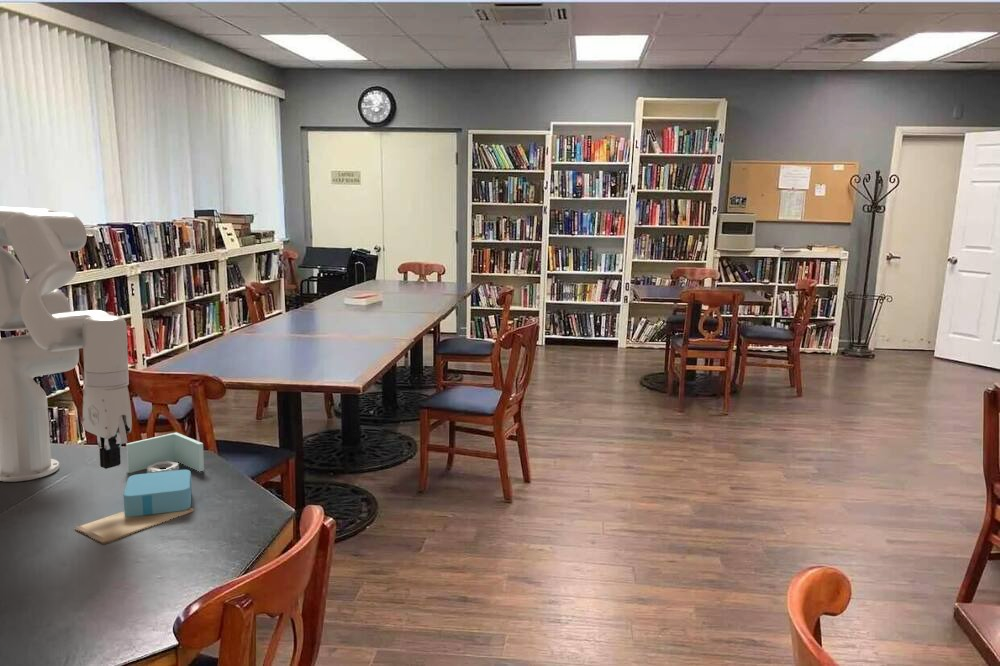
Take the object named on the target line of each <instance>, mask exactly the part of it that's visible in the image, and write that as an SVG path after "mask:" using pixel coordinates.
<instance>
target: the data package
mask: <svg viewBox="0 0 1000 666" xmlns="http://www.w3.org/2000/svg"><path fill="white" fill-rule="evenodd" d="M122 495H123V509H124V510H123V511H124V514H125V516H127V517H137V516H145V515H153V514H161V513H169V512H177V511H184V510H187V509H189V508H192V507H191V505H192V473H191V470H189V469H179V470H175V471H165V472H156V473H147V472H145V473H139V474H133V475H130V476H129V477H128V478H127V481H126V484H125V488H124V492H123V494H122Z"/></svg>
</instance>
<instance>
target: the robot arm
mask: <svg viewBox="0 0 1000 666" xmlns="http://www.w3.org/2000/svg"><path fill="white" fill-rule="evenodd" d="M87 235H88V234H87V229H86V227H85V225H84V223H83V222H82V220H81V219H80V218H79V217H78V216H76V215H75V214H73V213H72V212H66V211H60V210H54V209H51V208H50V209H49V208H38V207H36V208H35V207H16V206H0V331H3V332H5V331H6V332H7V331H21V330H27V331H28V334H24V335H14V336H8V337H3V338H0V482H12V483H13V482H25V481H32V480H36V479H39V478H43V477H46V476H49V475H51V474H53V473H55V472H57V471H58V470H59V469H60V462H59V461H58V460H57V459H55V458H52V453H51V437H50V422H49V409H48V408H49V407H48V397H47V394H46V392H45V390H44V389H43V388H42V387H41V386H40V385H39V384H38V383H37V382H36V381H35V380H34V378H35V377H40V376H41V377H42V376H45V375H46V376H47V375H52V374H58V373H64V372H68V371H71V370H73V369H75V368H76V366H77V365H78V363H79V361H80V349H82V354H83V355H82V356H83V374H84V375H83V376H84V388H83V393H82V394H83V395H82V429H83V430H84V431H86V432H87V433H90V434H92V435H94V436H95V437H96V440H97V445H98V447H99V466H100V467H101V468H104V469H105V470H107V469H110V468H114V467H119V466H120V465H121V447H122V444H126V443H127V442H128V437H127V435H130V433H131V432H132V428H133V427H132V426H133V423H132V418H133V417H132V407H131V406H132V405H131V400H130V392H129V388H128V386H129V384H130V382H129V354H128V330H127V329H128V326H127V325H128V324H127V322H126V320H125V318H123V317H122V316H119V315H111V314H110V313H109V312H107V311H105V310H102V309H90V310H88V309H87V310H73V311H72V309H71V306H70V303H69V300H68V297H67V296H66V295H65V293H64V292H63V291H62V290H61V289H59V288H62V287H63V286H65V285H67V284H68V283H69V282H71V281H72V280H73V279H74V277H75V276H76V274H77V267H76V264H75V263H74V261H73V259H72V257H71V256H70V253H69V252H76V251H80V250H82V249H83V248H84V247H85V245H86V244H87V238H88V236H87ZM7 246H8V247H9V246H10V247H12V249H13V251H14V253H15V255H16V257H17V258H16V257H15V256H14V254H12V253H11V252H9V251H8V250H6V249H5V248H3V247H7ZM25 274H26V275H27V277H28V279H29V280H28V281H27V280H26V275H25Z"/></svg>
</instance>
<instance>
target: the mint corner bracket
mask: <svg viewBox="0 0 1000 666" xmlns="http://www.w3.org/2000/svg"><path fill="white" fill-rule="evenodd" d="M125 452H126V453H125V454H126V455H125V456H126V473H128V474H131V473H135V472H138V471H142V470H146V472H145V473H156V472H165V471H175V470H180V465H182V464H184V465H183V466H185V465H186V466H185V467H187V466H188V468H189V467H190V468H189V469H191V468H193V469H195V470H197V471H196V472H198V471H199V472H198V473H201V472H200V471H203V470H204V467H205V465H204V463H205V461H204V443H203V442H201V441H198V440H196V439H194V438H191V437H188V436H187V435H184V434H182V433H180V432H178V431H175V432H172V433H167V434H163V435H159V436H154V437H150V438H146V439H141V440H136V441H132V442H128V443H127V442H126V443H125ZM178 462H179V463H178ZM180 463H181V464H180ZM160 468H166V469H160ZM193 469H192V470H193ZM195 470H194V471H195ZM204 471H205V470H204ZM204 471H203V472H204Z"/></svg>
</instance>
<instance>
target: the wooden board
mask: <svg viewBox="0 0 1000 666" xmlns="http://www.w3.org/2000/svg"><path fill="white" fill-rule="evenodd" d="M192 512H194V508H192V507H190V508H189V509H187V510H184V511H177V512H169V513H161V514H153V515H145V516H137V517H127V516H125V514H124V510H123V511H119V512H117V513H114V514H111V515H108V516H105V517H102V518H100V519H97V520H94V521H91V522H88V523H85V524H81V525H77V526H75V527H74V530H75V529H76V530H75V531H77V530H78V531H77V532H79V531H80V532H79V533H81V532H82V533H81V534H83V533H84V534H83V535H85V534H86V535H88V536H89V537H88V536H87V537H88V538H90V537H91V538H90V539H92V538H93V539H92V540H94V539H95V540H94V541H96V540H97V541H96V542H98V541H99V542H98V543H100V544H102V545H106V544H108V543H112V542H115V541H117V540H119V538H120V539H122V537H123V538H125V537H127V536H130V534H131V535H133V534H136V533H138V531H139V532H141V531H143V530H142V529H144V530H146V529H145V528H147V529H149V528H148V527H150V528H152V527H154V525H155V526H157V524H158V525H161V524H163V523H165V521H166V522H168V521H171V520H174V519H176V518H179V517H181V516H184V515H187V514H189V513H192ZM178 516H179V517H178ZM173 518H174V519H173ZM170 519H171V520H170ZM162 522H163V523H162ZM151 526H152V527H151ZM140 530H141V531H140ZM135 532H136V533H135ZM86 535H85V536H86ZM114 540H115V541H114Z"/></svg>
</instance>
